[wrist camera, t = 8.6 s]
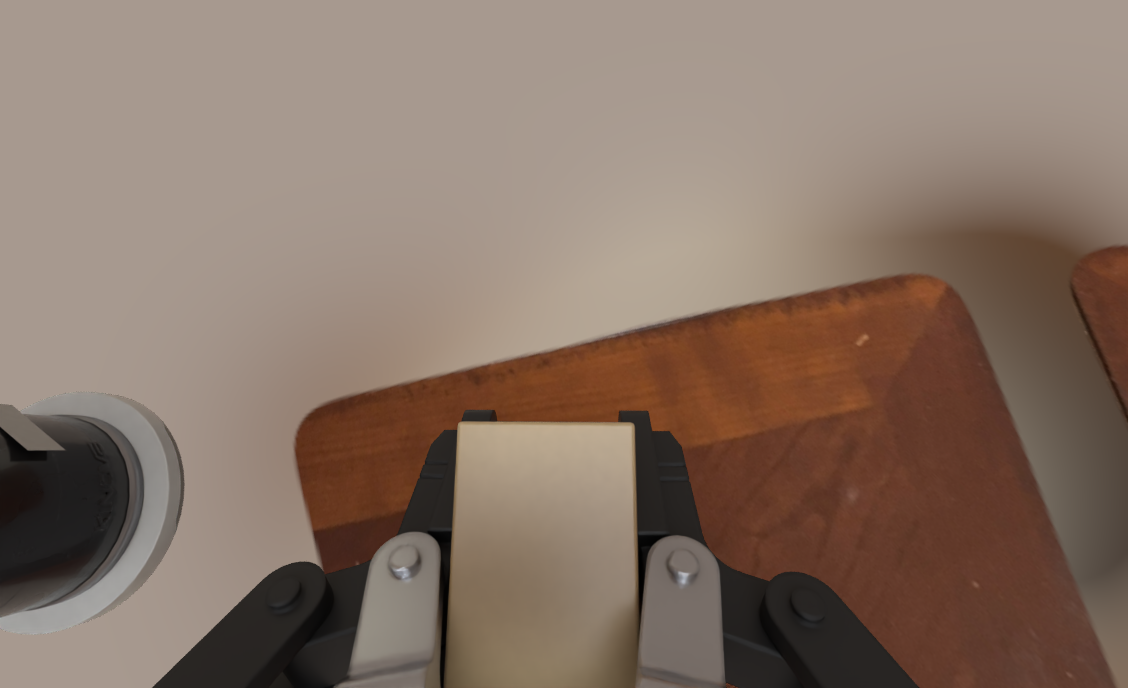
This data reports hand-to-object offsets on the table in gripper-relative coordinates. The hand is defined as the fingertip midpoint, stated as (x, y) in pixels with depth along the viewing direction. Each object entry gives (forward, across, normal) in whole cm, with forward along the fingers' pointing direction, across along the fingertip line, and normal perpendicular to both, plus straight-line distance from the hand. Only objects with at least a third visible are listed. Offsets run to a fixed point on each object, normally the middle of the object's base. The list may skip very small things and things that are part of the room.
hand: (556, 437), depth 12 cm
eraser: (+1, 0, +4) cm, 5 cm away
